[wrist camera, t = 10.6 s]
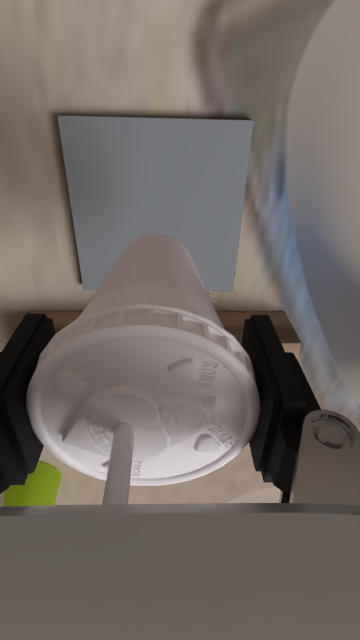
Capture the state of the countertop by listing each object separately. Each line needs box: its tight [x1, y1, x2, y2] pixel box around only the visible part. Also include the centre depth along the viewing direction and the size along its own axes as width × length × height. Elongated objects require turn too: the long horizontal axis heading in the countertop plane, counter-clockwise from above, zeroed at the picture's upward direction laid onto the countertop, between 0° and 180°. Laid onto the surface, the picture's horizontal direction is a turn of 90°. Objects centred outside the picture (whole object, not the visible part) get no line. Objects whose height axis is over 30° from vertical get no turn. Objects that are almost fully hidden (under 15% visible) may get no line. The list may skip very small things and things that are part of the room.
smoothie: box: [26, 234, 260, 505], centre depth 12 cm, size 6×6×14 cm
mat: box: [57, 115, 254, 291], centre depth 25 cm, size 12×12×1 cm
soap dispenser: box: [4, 461, 61, 506], centre depth 34 cm, size 6×7×20 cm
